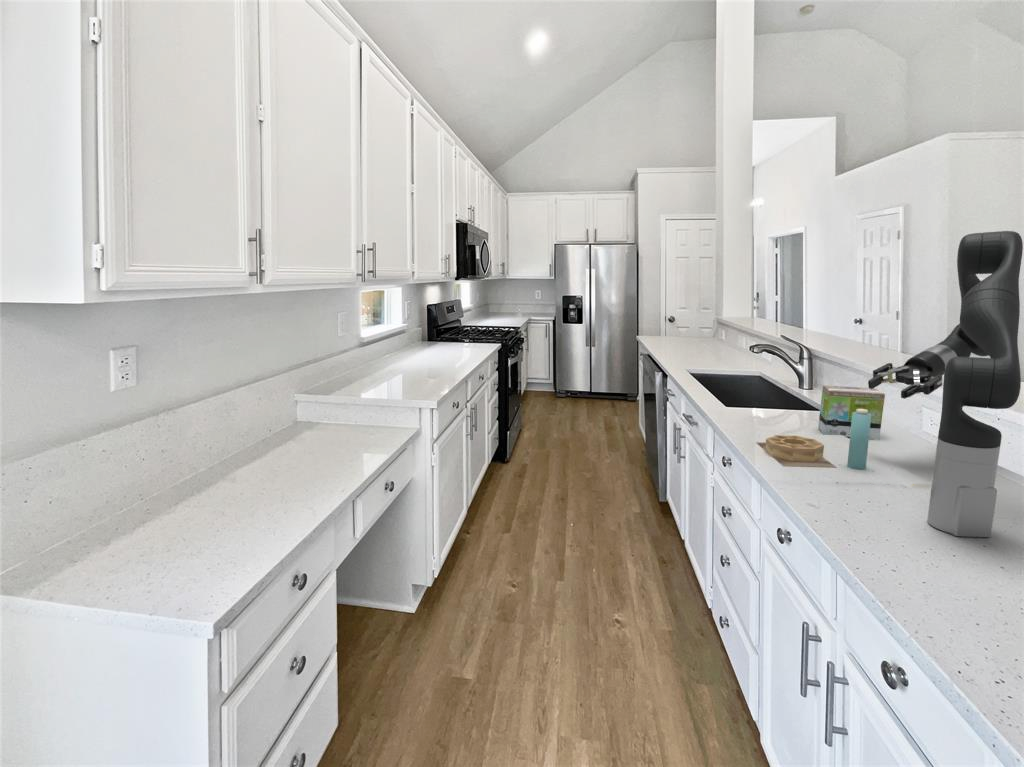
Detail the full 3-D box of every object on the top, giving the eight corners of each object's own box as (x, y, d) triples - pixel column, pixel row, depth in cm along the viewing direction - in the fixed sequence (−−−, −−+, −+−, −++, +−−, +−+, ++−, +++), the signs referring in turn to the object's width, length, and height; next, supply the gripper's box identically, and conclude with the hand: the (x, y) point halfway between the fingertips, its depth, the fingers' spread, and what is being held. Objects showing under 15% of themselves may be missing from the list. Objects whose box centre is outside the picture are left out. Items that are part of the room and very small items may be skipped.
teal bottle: (868, 474, 139) (875, 411, 136) (851, 473, 139) (857, 411, 137) (860, 469, 143) (866, 408, 140) (843, 468, 143) (849, 407, 141)
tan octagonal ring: (829, 462, 145) (830, 449, 144) (777, 460, 146) (778, 448, 146) (808, 447, 158) (809, 435, 157) (760, 446, 159) (761, 434, 158)
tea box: (825, 436, 173) (829, 390, 171) (817, 429, 183) (821, 384, 180) (880, 440, 169) (885, 392, 166) (870, 432, 178) (874, 386, 176)
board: (836, 472, 141) (837, 467, 140) (783, 470, 142) (783, 466, 142) (801, 447, 162) (802, 443, 162) (755, 446, 164) (755, 442, 163)
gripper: (903, 345, 148) (858, 370, 144) (961, 357, 135) (913, 384, 131) (904, 369, 151) (860, 394, 147) (961, 384, 138) (914, 411, 134)
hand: (885, 390), depth 139 cm, fingers open, 8 cm apart
